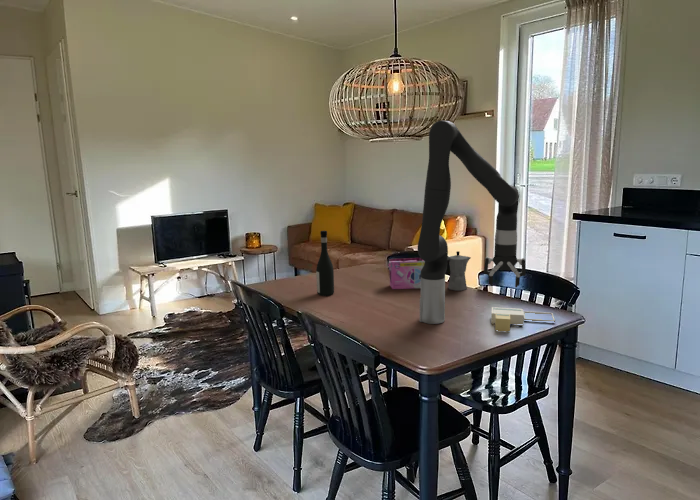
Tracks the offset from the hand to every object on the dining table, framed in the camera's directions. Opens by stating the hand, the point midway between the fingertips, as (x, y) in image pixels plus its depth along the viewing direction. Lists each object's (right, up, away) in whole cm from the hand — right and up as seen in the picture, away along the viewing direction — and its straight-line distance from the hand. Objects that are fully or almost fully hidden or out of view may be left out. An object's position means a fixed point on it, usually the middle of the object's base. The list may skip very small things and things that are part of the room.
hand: (503, 286), depth 184 cm
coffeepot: (-5, -6, +60) cm, 60 cm away
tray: (+17, -13, +13) cm, 26 cm away
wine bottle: (-67, -8, +55) cm, 87 cm away
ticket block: (+4, -14, +10) cm, 18 cm away
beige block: (0, -16, +3) cm, 16 cm away
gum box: (-24, -5, +66) cm, 70 cm away
